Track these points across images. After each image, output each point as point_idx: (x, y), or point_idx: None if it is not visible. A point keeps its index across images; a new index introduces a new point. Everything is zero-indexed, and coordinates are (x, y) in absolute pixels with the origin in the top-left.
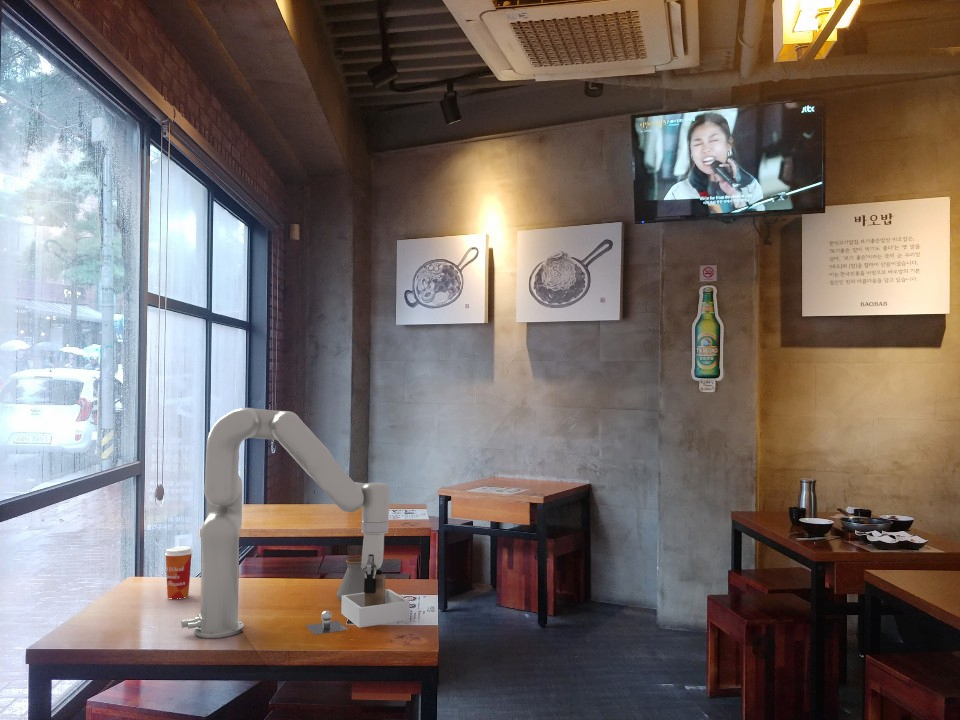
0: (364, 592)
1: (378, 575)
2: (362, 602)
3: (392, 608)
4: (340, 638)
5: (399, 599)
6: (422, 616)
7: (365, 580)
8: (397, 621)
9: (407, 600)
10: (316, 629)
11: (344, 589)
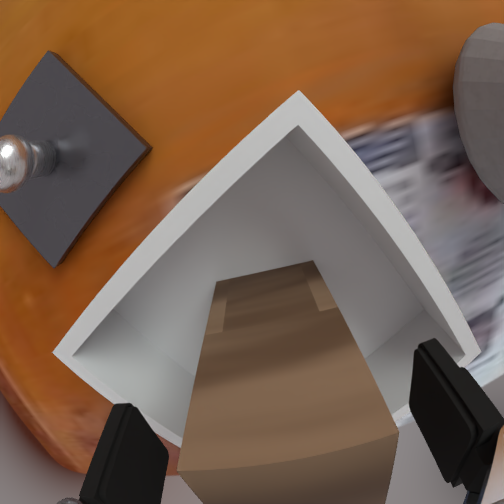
0: (116, 405)
1: (355, 499)
2: (370, 225)
3: None
4: (15, 258)
5: None
6: None
7: (90, 484)
8: None
9: None
10: (15, 134)
11: (500, 59)
